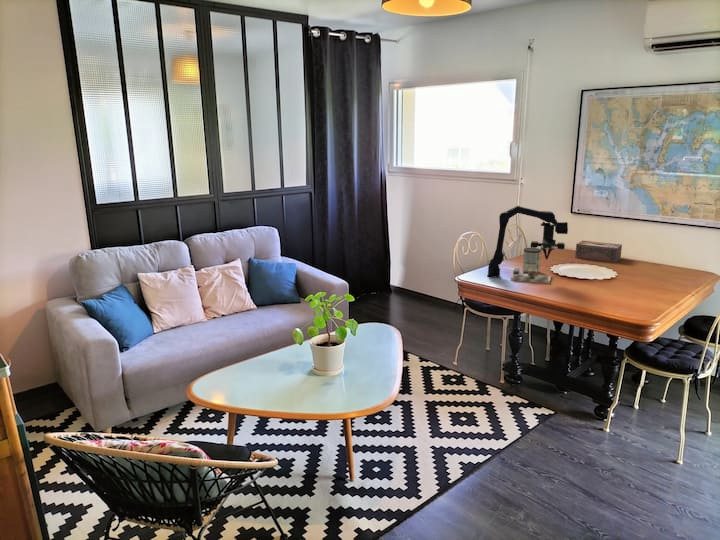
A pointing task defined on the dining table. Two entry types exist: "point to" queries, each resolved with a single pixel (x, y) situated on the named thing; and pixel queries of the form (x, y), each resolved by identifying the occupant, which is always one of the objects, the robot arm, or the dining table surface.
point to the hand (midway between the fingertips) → (546, 259)
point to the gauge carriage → (531, 272)
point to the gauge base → (529, 277)
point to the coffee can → (531, 259)
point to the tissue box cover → (598, 251)
